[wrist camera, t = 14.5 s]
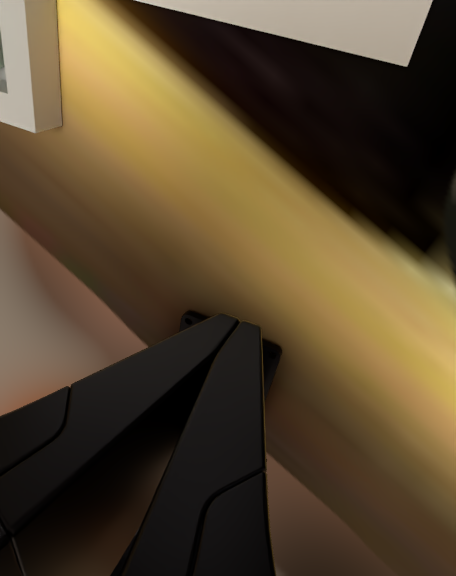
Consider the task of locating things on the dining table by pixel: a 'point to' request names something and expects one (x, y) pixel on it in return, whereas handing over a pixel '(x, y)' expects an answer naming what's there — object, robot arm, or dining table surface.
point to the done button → (1, 54)
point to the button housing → (30, 65)
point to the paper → (324, 22)
